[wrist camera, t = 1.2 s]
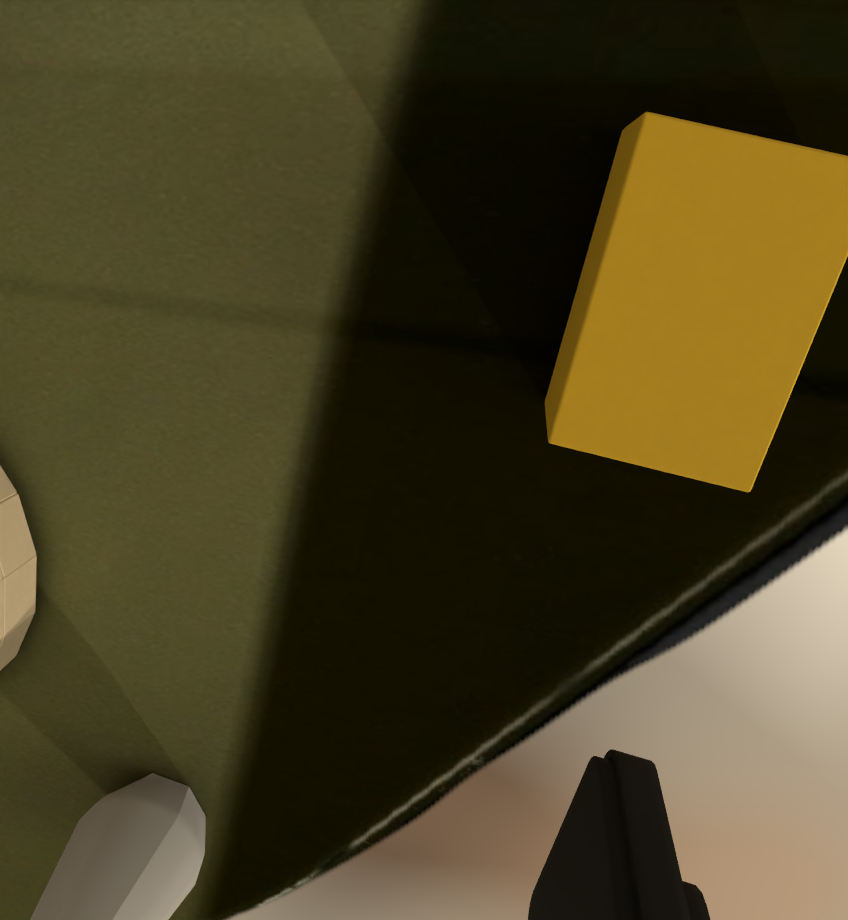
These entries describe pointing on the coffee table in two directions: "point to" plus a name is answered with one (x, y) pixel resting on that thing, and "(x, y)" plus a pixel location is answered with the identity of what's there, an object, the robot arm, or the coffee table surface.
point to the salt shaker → (129, 856)
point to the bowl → (14, 572)
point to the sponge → (698, 298)
